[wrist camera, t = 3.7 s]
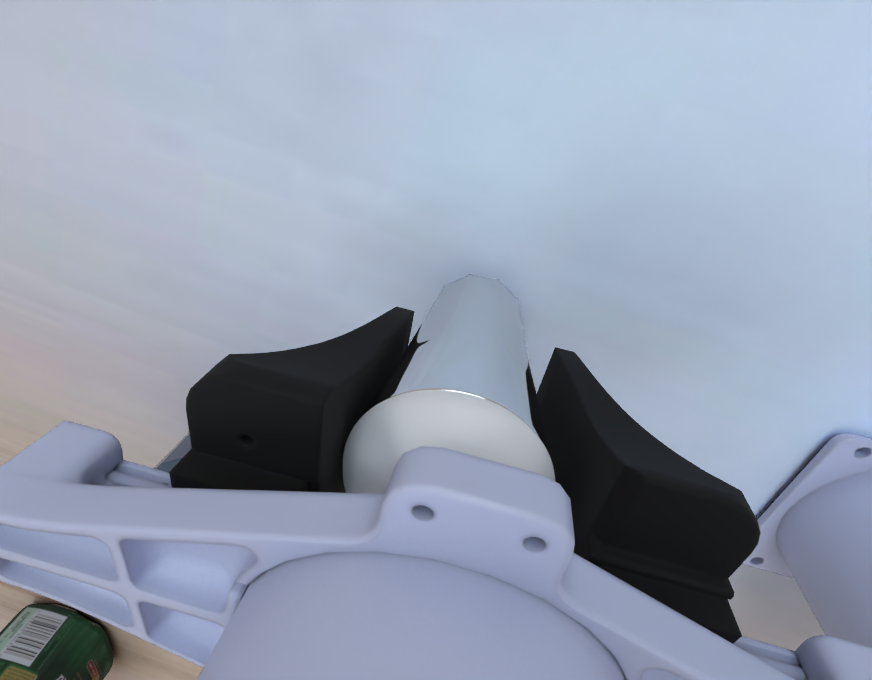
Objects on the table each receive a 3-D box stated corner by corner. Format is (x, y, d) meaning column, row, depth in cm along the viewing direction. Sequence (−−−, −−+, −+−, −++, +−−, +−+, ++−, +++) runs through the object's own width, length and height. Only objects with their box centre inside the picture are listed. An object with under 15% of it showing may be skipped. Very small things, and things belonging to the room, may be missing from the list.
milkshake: (489, 398, 18) (462, 678, 9) (392, 311, 17) (260, 543, 8) (581, 333, 16) (652, 617, 7) (478, 228, 15) (420, 424, 6)
